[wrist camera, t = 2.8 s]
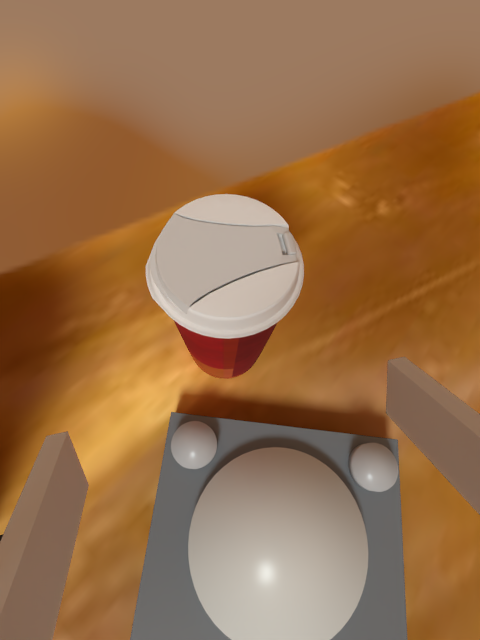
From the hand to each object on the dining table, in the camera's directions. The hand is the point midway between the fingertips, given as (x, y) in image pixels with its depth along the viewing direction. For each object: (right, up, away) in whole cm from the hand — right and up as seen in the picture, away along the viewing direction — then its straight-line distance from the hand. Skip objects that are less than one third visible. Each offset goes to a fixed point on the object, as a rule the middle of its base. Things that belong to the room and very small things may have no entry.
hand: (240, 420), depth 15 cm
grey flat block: (+2, -11, +10) cm, 15 cm away
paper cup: (-1, +2, +15) cm, 15 cm away
